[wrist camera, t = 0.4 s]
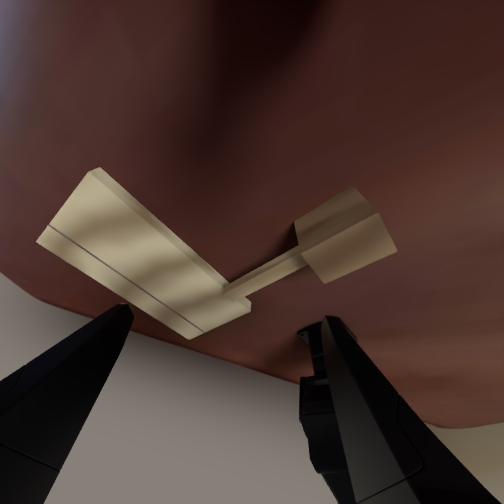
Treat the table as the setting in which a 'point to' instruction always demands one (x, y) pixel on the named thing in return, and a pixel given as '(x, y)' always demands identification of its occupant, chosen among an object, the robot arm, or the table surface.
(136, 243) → the board
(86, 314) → the table surface
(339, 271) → the wooden mallet
